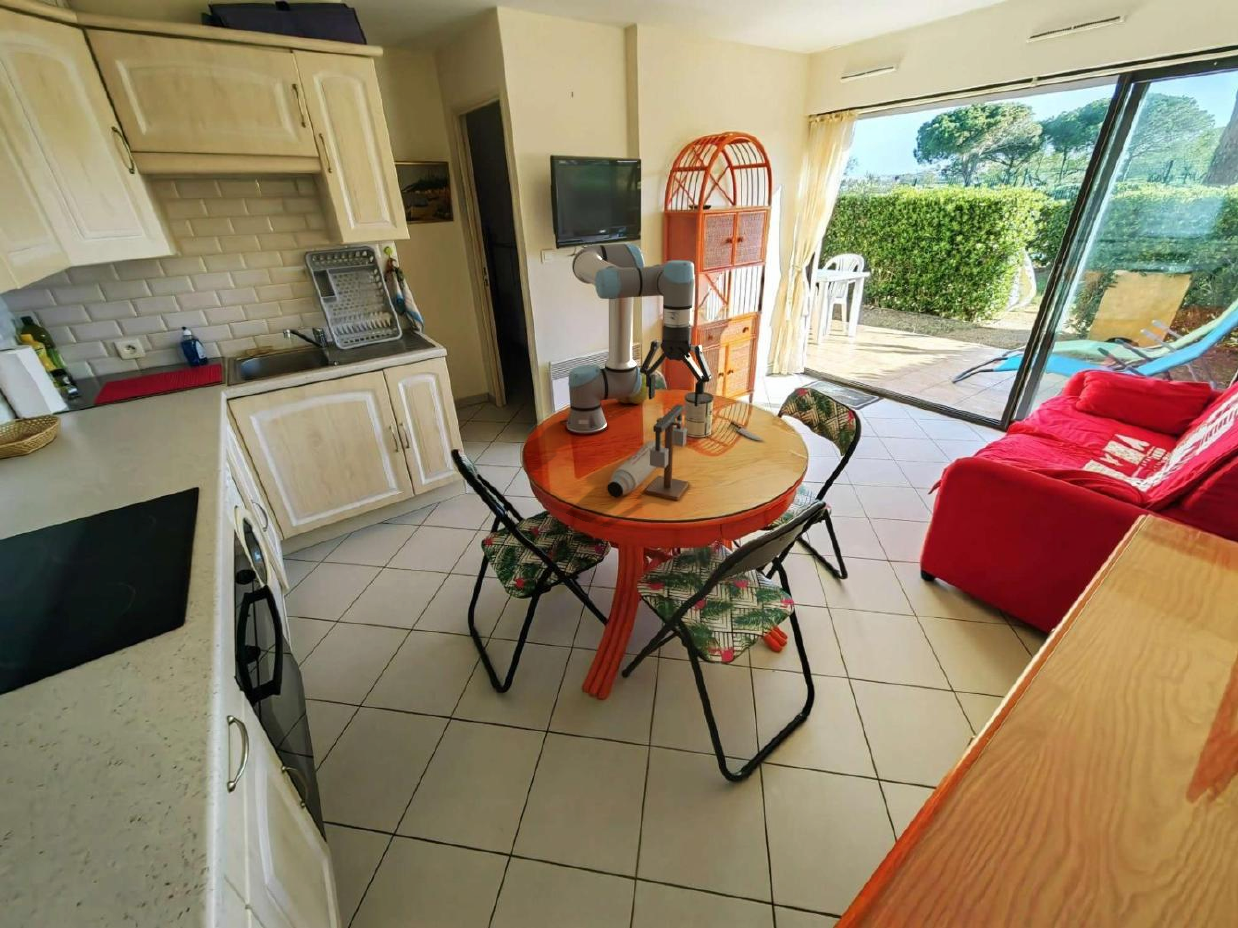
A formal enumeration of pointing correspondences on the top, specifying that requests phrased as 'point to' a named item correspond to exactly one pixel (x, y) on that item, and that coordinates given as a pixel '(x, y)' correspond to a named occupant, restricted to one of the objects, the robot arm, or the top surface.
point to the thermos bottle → (631, 472)
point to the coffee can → (698, 415)
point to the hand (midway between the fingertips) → (674, 401)
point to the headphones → (679, 436)
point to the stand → (668, 472)
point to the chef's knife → (746, 432)
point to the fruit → (641, 395)
